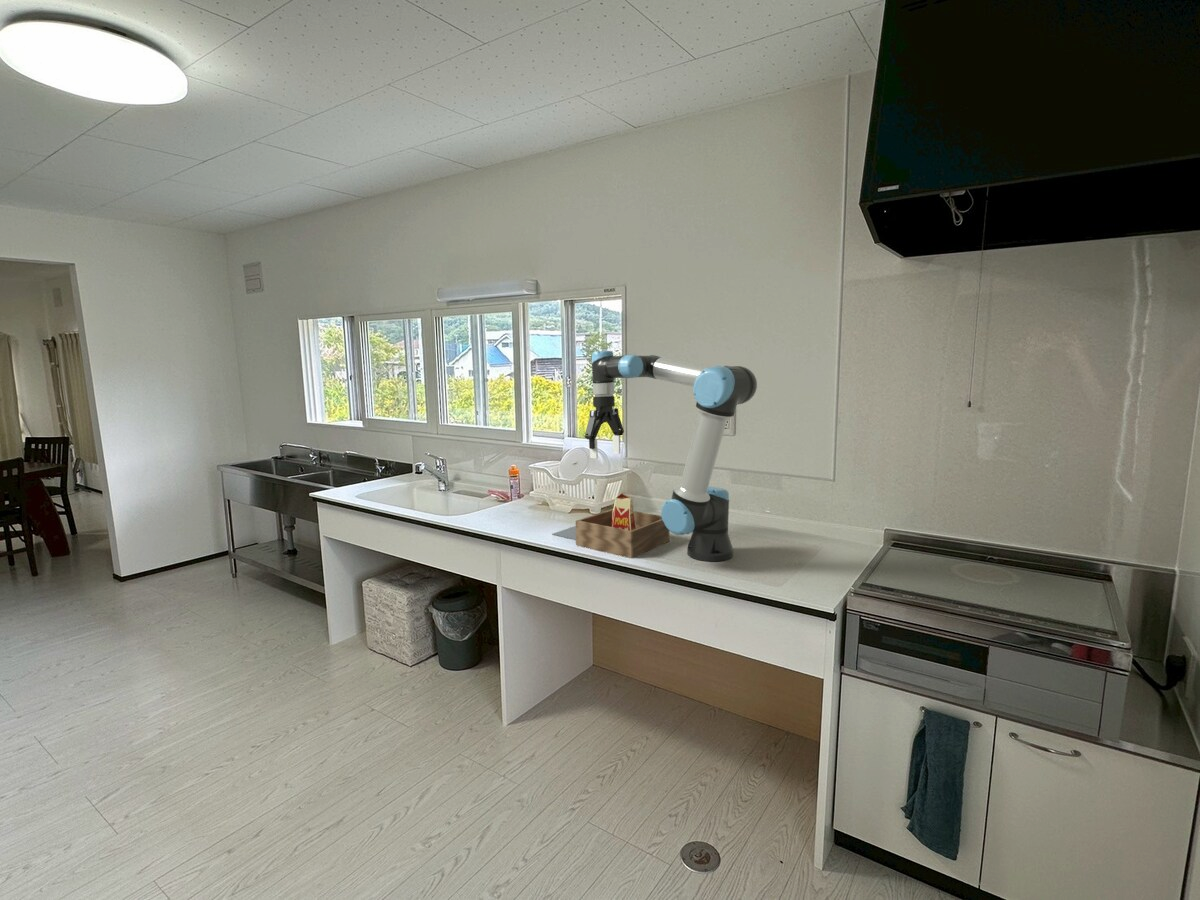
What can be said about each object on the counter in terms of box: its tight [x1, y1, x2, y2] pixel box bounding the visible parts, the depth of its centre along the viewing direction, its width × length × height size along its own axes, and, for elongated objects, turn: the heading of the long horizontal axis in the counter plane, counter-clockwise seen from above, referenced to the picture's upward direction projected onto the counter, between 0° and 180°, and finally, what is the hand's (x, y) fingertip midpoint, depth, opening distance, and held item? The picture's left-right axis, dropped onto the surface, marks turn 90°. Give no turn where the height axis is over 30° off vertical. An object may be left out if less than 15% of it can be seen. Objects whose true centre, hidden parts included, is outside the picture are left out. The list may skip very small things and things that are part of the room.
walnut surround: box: [575, 508, 670, 559], centre depth 219 cm, size 24×24×9 cm
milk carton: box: [611, 490, 636, 531], centre depth 218 cm, size 9×9×20 cm
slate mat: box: [551, 525, 576, 541], centre depth 232 cm, size 14×14×1 cm
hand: (605, 455), depth 217 cm, fingers open, 13 cm apart
